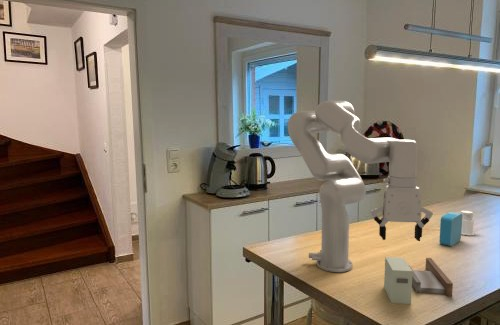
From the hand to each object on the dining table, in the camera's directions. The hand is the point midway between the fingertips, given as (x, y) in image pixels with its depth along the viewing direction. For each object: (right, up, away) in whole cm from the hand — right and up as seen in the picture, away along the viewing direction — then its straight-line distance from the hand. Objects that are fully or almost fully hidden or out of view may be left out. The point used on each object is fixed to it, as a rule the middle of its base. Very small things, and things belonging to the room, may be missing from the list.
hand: (400, 238), depth 113 cm
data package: (+40, -11, +47) cm, 63 cm away
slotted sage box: (0, -18, +3) cm, 18 cm away
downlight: (+52, -9, +58) cm, 79 cm away
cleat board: (+13, -16, +12) cm, 24 cm away
